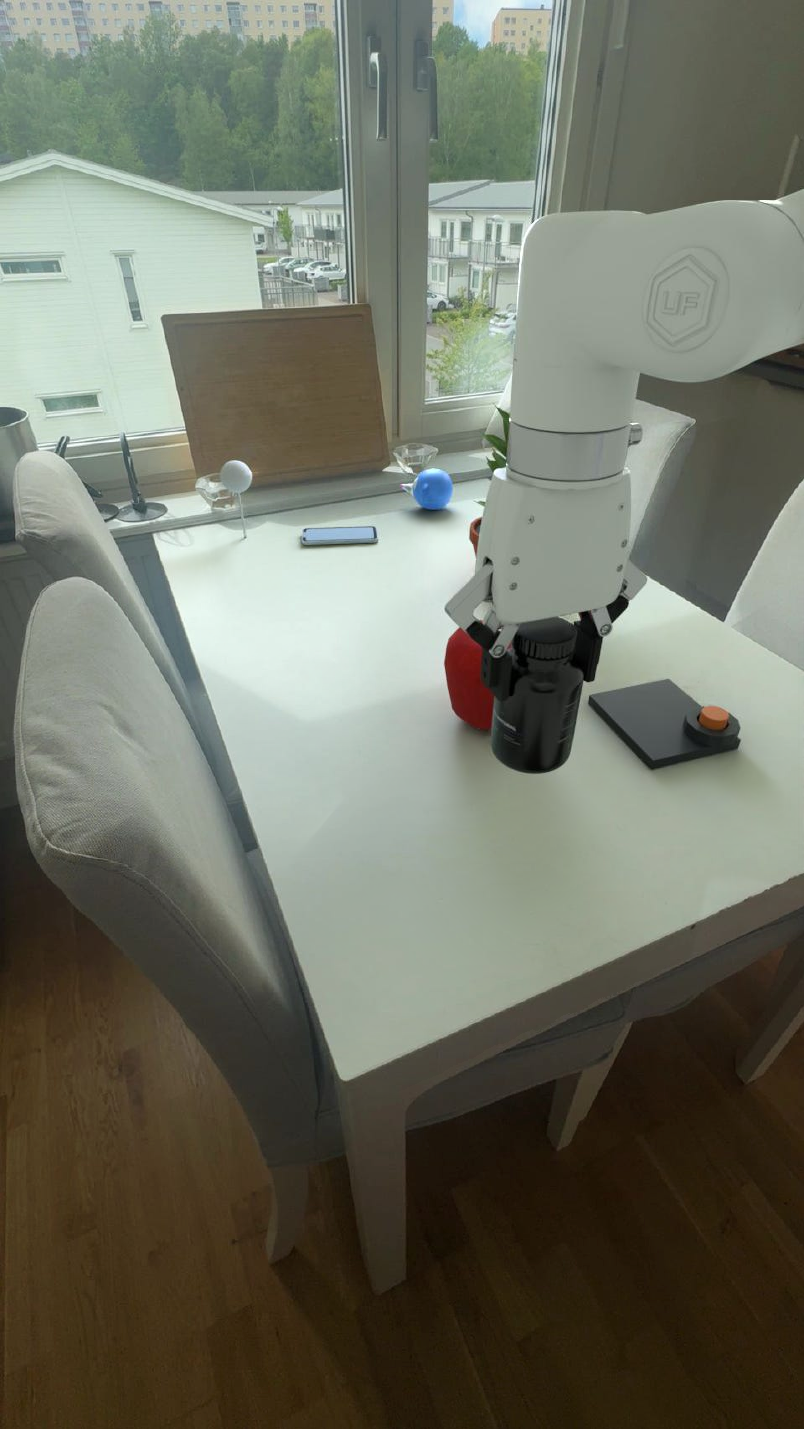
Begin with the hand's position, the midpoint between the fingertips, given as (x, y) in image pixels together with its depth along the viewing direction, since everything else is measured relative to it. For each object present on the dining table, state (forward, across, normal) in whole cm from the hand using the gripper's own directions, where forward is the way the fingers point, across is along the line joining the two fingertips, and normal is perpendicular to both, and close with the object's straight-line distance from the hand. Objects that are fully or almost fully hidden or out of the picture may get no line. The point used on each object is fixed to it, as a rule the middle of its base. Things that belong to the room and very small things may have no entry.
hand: (538, 681), depth 54 cm
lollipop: (+21, +13, -96) cm, 99 cm away
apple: (+22, -7, -23) cm, 32 cm away
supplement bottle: (+7, 0, 0) cm, 7 cm away
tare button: (+19, -30, -10) cm, 37 cm away
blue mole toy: (+21, -27, -100) cm, 105 cm away
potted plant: (+21, -29, -60) cm, 70 cm away
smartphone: (+21, -5, -89) cm, 91 cm away
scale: (+21, -27, -14) cm, 37 cm away
